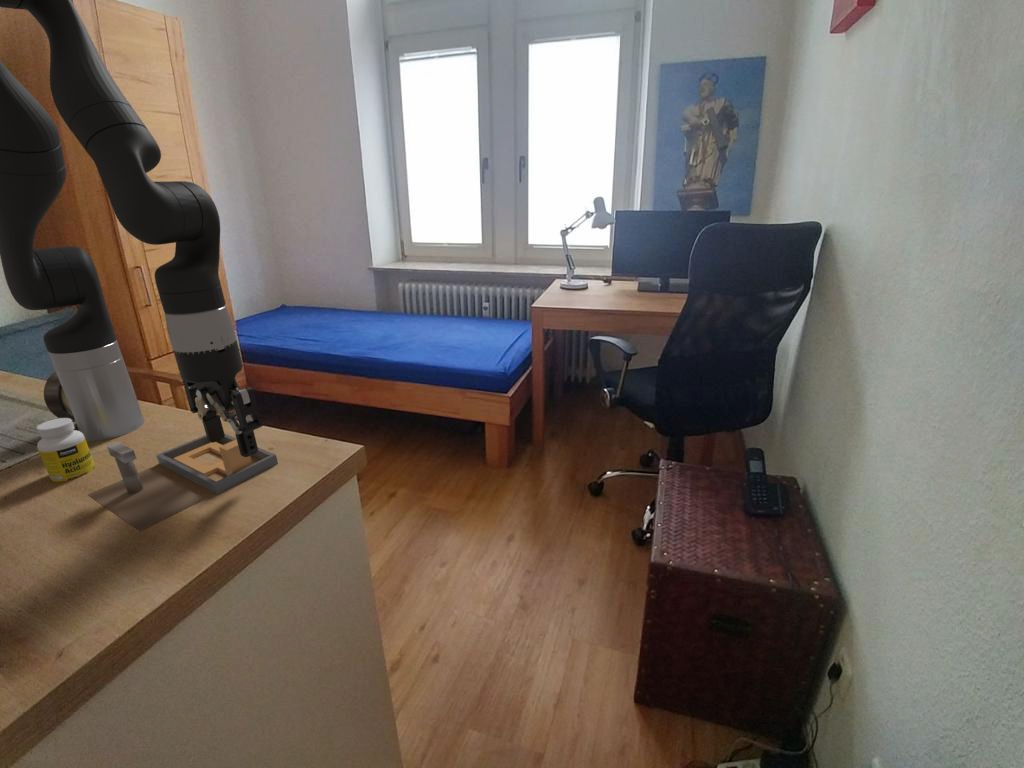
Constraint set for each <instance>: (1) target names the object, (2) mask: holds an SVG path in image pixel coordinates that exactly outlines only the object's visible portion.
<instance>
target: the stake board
mask: <svg viewBox="0 0 1024 768" xmlns="http://www.w3.org/2000/svg"><path fill="white" fill-rule="evenodd" d="M106 447H107V450H108V453H109V455H110V457H113V458H115V459H114V460H115V462H116V464H117V467H118V470H119V473H120V476H121V478H122V479H121V480H118V481H116V482H114V483H111V484H109V485H107V486H104V487H102V488H100V489H96V490H95V491H92V492H90V493H87V496H89V497H90V498H92V499H93V500H94V501H96V502H98V503H99V504H100V505H102V506H103V507H105V508H106V509H108V510H109V511H111V512H112V513H113V514H115V515H117V517H119V518H120V519H122V520H123V521H125V522H126V523H128V524H129V525H130V526H132V527H133V528H135V529H137V531H140V532H143V531H145V530H147V529H148V528H151V527H153V526H155V525H157V524H159V523H161V522H163V521H165V520H167V519H168V518H171V517H173V516H174V515H177V514H179V513H180V512H182V511H184V510H187V509H188V508H190V507H192V506H194V505H196V504H199V503H200V502H202V501H204V500H206V498H204V497H202V496H201V495H199V494H197V493H195V492H194V491H191V490H190V489H188V488H186V487H184V486H183V485H180V484H179V483H177V482H175V481H174V480H172V479H170V478H168V477H166V476H164V475H162V474H161V473H159V472H157V471H155V470H154V469H152V468H148V469H147V468H146V469H145V470H142V471H139V472H138V470H137V467H136V464H135V462H134V461H135V460H138V459H137V455H136V453H135V450H134V449H132V448H131V447H129V446H126V445H125V444H123V443H121V442H120V441H118V442H114V443H112V444H110V445H107V446H106Z"/></svg>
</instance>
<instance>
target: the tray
mask: <svg viewBox="0 0 1024 768" xmlns="http://www.w3.org/2000/svg"><path fill="white" fill-rule="evenodd" d="M224 434H225V437H224V438H223V439H221V440H219V441H218V443H219V442H220V443H221V444H223V445H224V444H227V443H229V442H231V441H234V440H236V437H234V436H232V435H229V434H226V433H224ZM208 443H211V442H210V441H208V439H207V435H206V434H205V435H202V436H199V437H198V438H195V439H193V440H190V441H188V442H184V443H183V444H180V445H177V446H176V447H173V448H170V449H167V450H165V451H163V452H160V453H158V454H156V458H157V461H158V465H161V466H163V467H165V468H166V469H169V470H171V471H173V472H174V473H176V474H177V475H179V476H182V477H183V478H185V479H187V480H190V481H191V482H193V483H195V484H196V485H199V486H200V487H203V488H204V489H207V490H209V491H210V492H212V493H215V494H216V495H219V494H221V493H222V492H224V491H227V490H228V489H230V488H232V487H234V486H237V485H239V484H240V483H242V482H244V481H247V480H248V479H250V478H252V477H254V476H256V475H258V474H261V473H262V472H264V471H266V470H268V469H270V468H272V467H274V466H276V465H277V464H279V463H278V458H277V455H276V454H275V453H272V452H271V451H267V450H266V449H263V448H261V447H258V451H257V453H255V454H253V455H251V457H254V458H257V459H259V460H258V461H256V462H254V463H252V465H249V466H247V467H245V468H243V469H241V470H239V471H237V472H235V473H233V474H231V475H229V476H227V475H226V476H225V477H223V478H221V479H219V480H217V481H216V480H214V479H212V478H210V477H209V476H207V477H206V476H204V475H202V474H200V473H198V472H196V471H194V470H192V469H190V468H188V467H186V466H184V465H182V464H180V463H179V462H177V461H175V460H174V459H173V458H175V457H177V456H180V455H182V454H185V453H187V452H189V451H192V450H194V449H197V448H199V447H201V446H204V445H206V444H208Z"/></svg>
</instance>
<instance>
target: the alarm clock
mask: <svg viewBox="0 0 1024 768" xmlns="http://www.w3.org/2000/svg"><path fill="white" fill-rule="evenodd" d="M43 387H44V388H43V400H44V402H45V405H46V407H47V409H48V410H49V411H50V413H51V414H53V416H55V417H56V418H57V419H59V418H70V419H71V420H72V422H73V423H75V424H74V430H76V431H79V429H78V426H77V424H76V421H75V418H74V416H73V413H72V411H71V408H70V406H69V403H68V401H67V398H66V396H65V393H64V391H63V388H62V386H61V383H60V381H59V378H58V376H57V373H56V370H54V371H53V372H52V373H51V374H50V375H49V377H48V378H47V380H46V382H45V385H44V386H43Z"/></svg>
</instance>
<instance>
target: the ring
mask: <svg viewBox="0 0 1024 768" xmlns="http://www.w3.org/2000/svg"><path fill="white" fill-rule="evenodd" d="M209 452H213V453H215V454H218V456H219V455H220V456H221V460H220V461H217V462H215V463H213V464H211V465H207V464H205V463H202V462H201V461H199V460H197V459H195V458H197V457H199V456H202V455H204V454H207V453H209ZM173 460H175V461H177V462H179V463H180V464H182V465H184V466H186V467H188V468H190V469H192V470H194V471H196V472H198V473H200V474H202V475H204V476H206V477H209V476H210V475H214V474H215V473H217V472H219V473H222V474H224V475H226V477H227V476H229V475H231V474H233V473H235V472H237V471H239V470H241V469H243V468H245V467H247V466H249V465H252V464H253V461H252V456H248V457H243V456H241V454H240V450H239V446H238V443H237V439H236V440H234V441H231V442H229V443H227V444H224V443H219V442H218V441H216V442H214V443H212V442H211V443H208V444H206V445H204V446H201V447H199V448H197V449H194V450H192V451H189V452H187V453H185V454H182V455H180V456H177V457H175V458H173Z"/></svg>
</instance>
